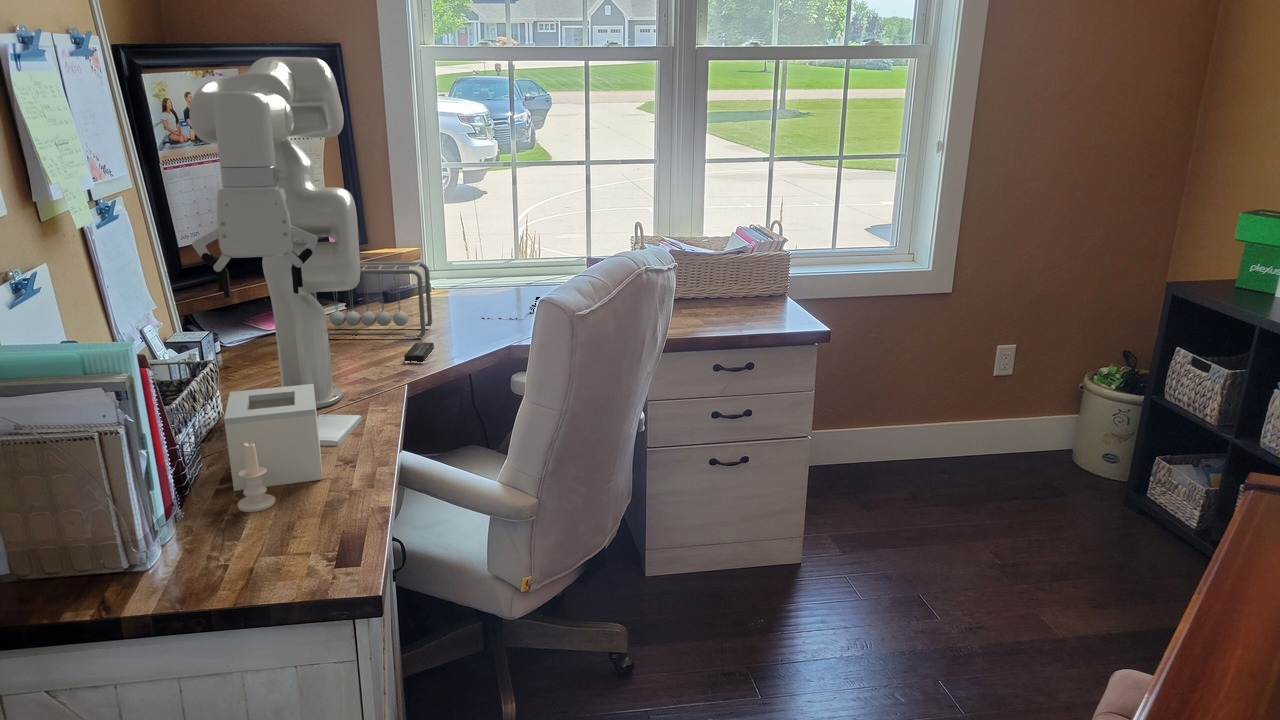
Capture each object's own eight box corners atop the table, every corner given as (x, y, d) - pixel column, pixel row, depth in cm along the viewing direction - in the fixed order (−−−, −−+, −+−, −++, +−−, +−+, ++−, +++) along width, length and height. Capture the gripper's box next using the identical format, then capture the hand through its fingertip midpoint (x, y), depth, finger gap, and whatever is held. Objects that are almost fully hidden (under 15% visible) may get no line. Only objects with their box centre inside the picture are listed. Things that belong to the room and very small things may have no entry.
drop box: (238, 459, 149) (229, 391, 145) (320, 449, 153) (313, 383, 150) (234, 491, 137) (224, 418, 134) (322, 479, 142) (315, 409, 138)
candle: (278, 495, 136) (271, 432, 133) (271, 511, 131) (263, 446, 128) (243, 497, 135) (234, 434, 132) (233, 513, 130) (224, 448, 127)
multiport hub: (404, 365, 201) (403, 355, 200) (416, 351, 211) (415, 342, 210) (423, 365, 201) (423, 355, 200) (434, 351, 211) (434, 342, 211)
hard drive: (318, 414, 167) (291, 438, 155) (361, 415, 166) (337, 439, 155) (319, 422, 167) (292, 447, 155) (362, 423, 167) (338, 448, 155)
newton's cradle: (433, 329, 230) (428, 261, 224) (425, 340, 220) (421, 269, 214) (315, 329, 228) (308, 261, 223) (303, 340, 218) (295, 269, 213)
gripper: (311, 177, 136) (321, 286, 140) (187, 179, 130) (201, 294, 134) (312, 179, 129) (323, 294, 134) (181, 182, 123) (197, 302, 128)
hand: (262, 294), depth 134 cm, fingers open, 9 cm apart
